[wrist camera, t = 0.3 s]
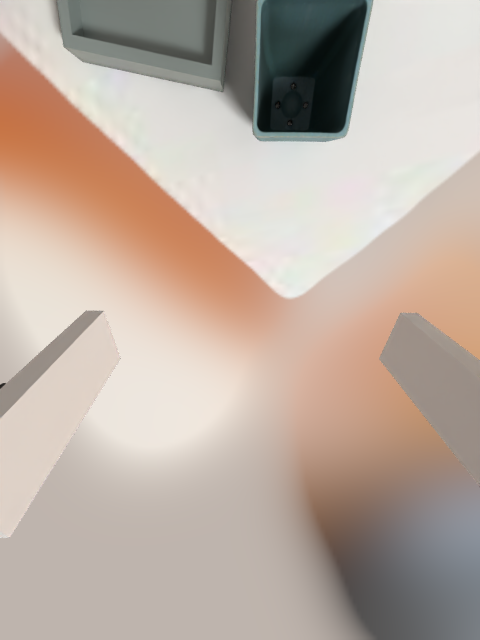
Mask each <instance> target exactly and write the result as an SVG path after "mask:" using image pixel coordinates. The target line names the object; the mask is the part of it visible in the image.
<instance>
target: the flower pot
mask: <svg viewBox="0 0 480 640" xmlns="http://www.w3.org/2000/svg"><path fill="white" fill-rule="evenodd" d="M372 6H373V0H257V1H256V39H255V77H254V106H253V135H254V136H255V137H256V138H257V139H258V140H259V141H309V142H326V141H331V140H336V139H340V138H343V137H345V136H346V134H347V132H348V129H349V124H350V119H351V113H352V108H353V102H354V97H355V91H356V86H357V81H358V75H359V70H360V65H361V60H362V55H363V50H364V45H365V41H366V35H367V30H368V25H369V20H370V15H371V11H372ZM293 83H294V84H295V85H296V87H295V89H292V88H291V85H292V84H293ZM277 102H279V103H280V106H279V108H276V103H277ZM305 102H306V103H308V106H307V108H304V107H303V104H304V103H305ZM289 120H291V121H292V125H290V126H289V125H288V121H289Z"/></svg>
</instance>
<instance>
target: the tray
mask: <svg viewBox="0 0 480 640" xmlns="http://www.w3.org/2000/svg"><path fill="white" fill-rule="evenodd" d="M57 5H58V12H59V18H60V25H61V32H62V39H63V46H64V48H66V49H67V50H68V51H70V52H71V53H72V54H73V55H75V56H76V57H77V58H79V59H80V60H81V61H82V62H86V63H90V64H95V65H100V66H104V67H109V68H114V69H118V70H123V71H128V72H132V73H137V74H141V75H146V76H151V77H155V78H160V79H165V80H169V81H174V82H179V83H183V84H188V85H193V86H197V87H202V88H206V89H211V90H216V91H220V92H223V89H224V79H225V69H226V59H227V48H228V38H229V28H230V18H231V7H232V0H57Z"/></svg>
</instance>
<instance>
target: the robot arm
mask: <svg viewBox="0 0 480 640" xmlns="http://www.w3.org/2000/svg"><path fill="white" fill-rule="evenodd" d="M120 359H121V358H120V355H119V352H118V349H117V347H116V344H115V341H114V338H113V335H112V333H111V329H110V327H109V324H108V321H107V318H106V315H105V313H104V311H85V312H84V313H83V314H82V315H81V316H80V317H79V318H77V319H76V320H75V321H74V322H73V323H72V324H71V325H70V326H69V327H68V328H67V329H65V330H64V331H63V332H62V333H61V334H60V335H59V336H58V337H57V338H56V339H55V340H53V341H52V342H51V343H50V344H49V345H48V346H47V347H46V348H45V349H44V350H42V351H41V352H40V353H39V354H38V355H37V356H36V357H35V358H34V359H33V360H31V361H30V362H29V363H28V364H27V365H26V366H25V367H24V368H23V369H22V370H21V371H19V372H18V373H17V374H16V375H15V376H14V377H13V378H12V379H11V380H10V381H9V382H8V383H3V384H1V385H0V538H10V536H11V535H12V533H13V531H14V530H15V528H16V527H17V525H18V523H19V522H20V520H21V519H22V517H23V515H24V514H25V512H26V510H27V509H28V507H29V506H30V504H31V502H32V501H33V499H34V498H35V496H36V494H37V493H38V491H39V489H40V488H41V486H42V485H43V483H44V481H45V480H46V478H47V477H48V475H49V473H50V472H51V470H52V469H53V467H54V465H55V464H56V462H57V460H58V459H59V457H60V456H61V454H62V452H63V451H64V449H65V448H66V446H67V444H68V443H69V441H70V440H71V438H72V436H73V435H74V433H75V431H76V430H77V428H78V427H79V425H80V423H81V422H82V420H83V419H84V417H85V415H86V413H87V412H88V410H89V409H90V407H91V406H92V404H93V402H94V401H95V399H96V398H97V396H98V394H99V393H100V391H101V389H102V388H103V386H104V385H105V383H106V381H107V380H108V378H109V376H110V375H111V373H112V372H113V370H114V369H115V367H116V365H117V364H118V362H119V361H120ZM379 359H380V361H381V362H382V363H383V365H384V366H385V367H386V368H387V370H388V371H389V372H390V373H391V374H392V376H393V377H394V379H395V380H396V381H397V382H398V384H399V385H400V386H401V387H402V389H403V390H404V391H405V392H406V394H407V395H408V396H409V397H410V399H411V400H412V401H413V403H414V404H415V405H416V406H417V408H418V409H419V410H420V412H421V413H422V414H423V415H424V417H425V418H426V419H427V420H428V422H429V423H430V424H431V426H432V427H433V428H434V429H435V431H436V432H437V433H438V434H439V436H440V437H441V438H442V439H443V441H444V442H445V443H446V445H447V446H448V447H449V448H450V450H451V451H452V452H453V454H454V455H455V456H456V457H457V459H458V460H459V461H460V462H461V464H462V465H463V466H464V467H465V469H466V470H467V471H468V473H469V474H470V475H471V476H472V478H473V479H474V480H475V481H476V483H477V484H478V485H479V487H480V360H479V359H477V358H476V357H475V356H473V355H472V354H471V353H469V352H468V351H467V350H465V349H464V348H463V347H461V346H460V345H459V344H458V343H456V342H455V341H453V340H452V339H451V338H450V337H448V336H447V335H446V334H444V333H443V332H442V331H440V330H439V329H438V328H436V327H435V326H434V325H432V324H431V323H430V322H428V321H427V320H426V319H424V318H423V317H422V316H420V315H419V314H418V313H400V315H399V317H398V319H397V321H396V324H395V326H394V328H393V330H392V332H391V334H390V336H389V339H388V341H387V343H386V345H385V347H384V349H383V351H382V354H381V356H380V358H379Z"/></svg>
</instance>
